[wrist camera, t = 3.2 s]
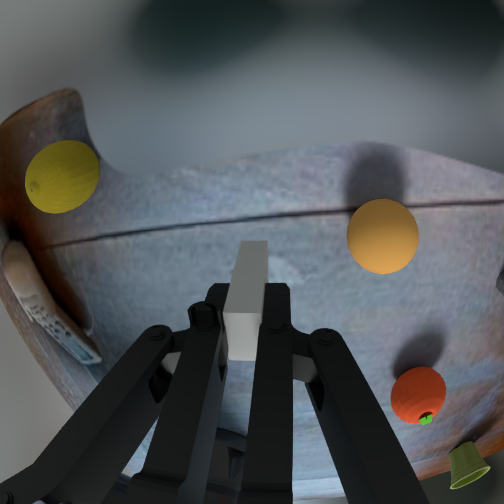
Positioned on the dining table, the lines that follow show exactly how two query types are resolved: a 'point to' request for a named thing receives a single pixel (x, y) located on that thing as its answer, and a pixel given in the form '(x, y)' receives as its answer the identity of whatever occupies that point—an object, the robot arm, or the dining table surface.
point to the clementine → (418, 395)
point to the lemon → (62, 176)
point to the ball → (382, 236)
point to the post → (500, 283)
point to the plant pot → (466, 465)
